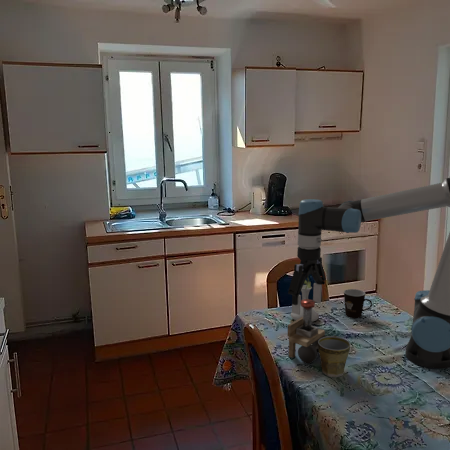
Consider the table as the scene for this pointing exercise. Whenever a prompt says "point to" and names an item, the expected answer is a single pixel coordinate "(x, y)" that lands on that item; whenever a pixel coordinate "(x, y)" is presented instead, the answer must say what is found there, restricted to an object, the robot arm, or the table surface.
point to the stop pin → (307, 313)
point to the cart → (304, 341)
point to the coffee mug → (354, 303)
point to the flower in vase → (305, 294)
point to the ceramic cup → (333, 355)
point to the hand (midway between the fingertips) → (306, 307)
